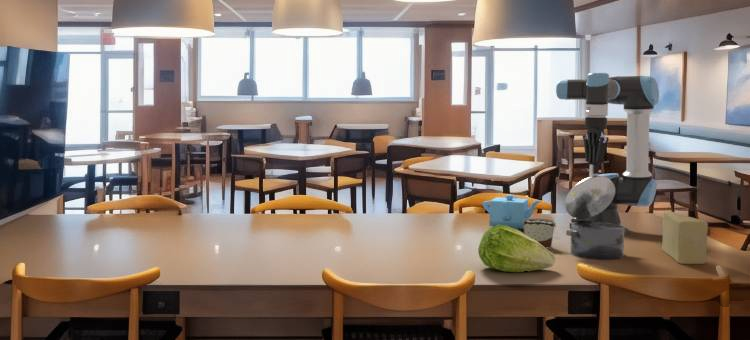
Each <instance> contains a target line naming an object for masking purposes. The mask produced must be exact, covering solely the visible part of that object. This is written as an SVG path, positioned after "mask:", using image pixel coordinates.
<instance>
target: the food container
mask: <svg viewBox="0 0 750 340" xmlns="http://www.w3.org/2000/svg"><path fill="white" fill-rule="evenodd" d="M522 225H524V228H523V234H525V235H526V236H528V237H530V238H532V239H534V240H536V241H537V242H539V243H540V244H541V245H542V246H544V247H548V248H547V249H552V244H553V237H554V230H555V229H554V228H556V227H557V226H556V222H555V220H552V219H549V218H540V217H539V218H537V217H536V218H535V217H534V218H533V217H532V218H531V217H530V218H528V219H524V221H523V223H522Z"/></svg>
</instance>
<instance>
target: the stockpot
mask: <svg viewBox="0 0 750 340" xmlns="http://www.w3.org/2000/svg"><path fill="white" fill-rule="evenodd" d="M565 233H566V236H569V237H570V254H571V255H573V256H575V257H579V258H583V259H589V260H602V261H603V260H604V261H605V260H606V261H607V260H608V261H609V260H618V259H622V258H623V257H624V251H625V250H624V248H625V245H624V244H625V234H629V228H626V227H624V226H623V225H621V226H620V225H617V224H611V223H602V222H578V223H572V222H569V229H567V230H566V232H565Z"/></svg>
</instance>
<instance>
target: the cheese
mask: <svg viewBox="0 0 750 340" xmlns="http://www.w3.org/2000/svg"><path fill="white" fill-rule="evenodd" d="M662 220H663V221H662V243H661V245H662V246H661V251H662V252H664V253H665V254H666V255H668V256H670V257H671V258H672V259H674V260H675V261H676V262H677V263H678V264H680V265H703V264H706V262H707V245H708V244H707V243H708V242H707V241H708V230H709V229H708V227H709V223H708V222H707V221H705V220H702V219H698V218H695V217H692V216H687V215H685V214H680V213H677V212H674V211H672V210H670V211H669V210H665V211H663V219H662Z"/></svg>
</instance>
